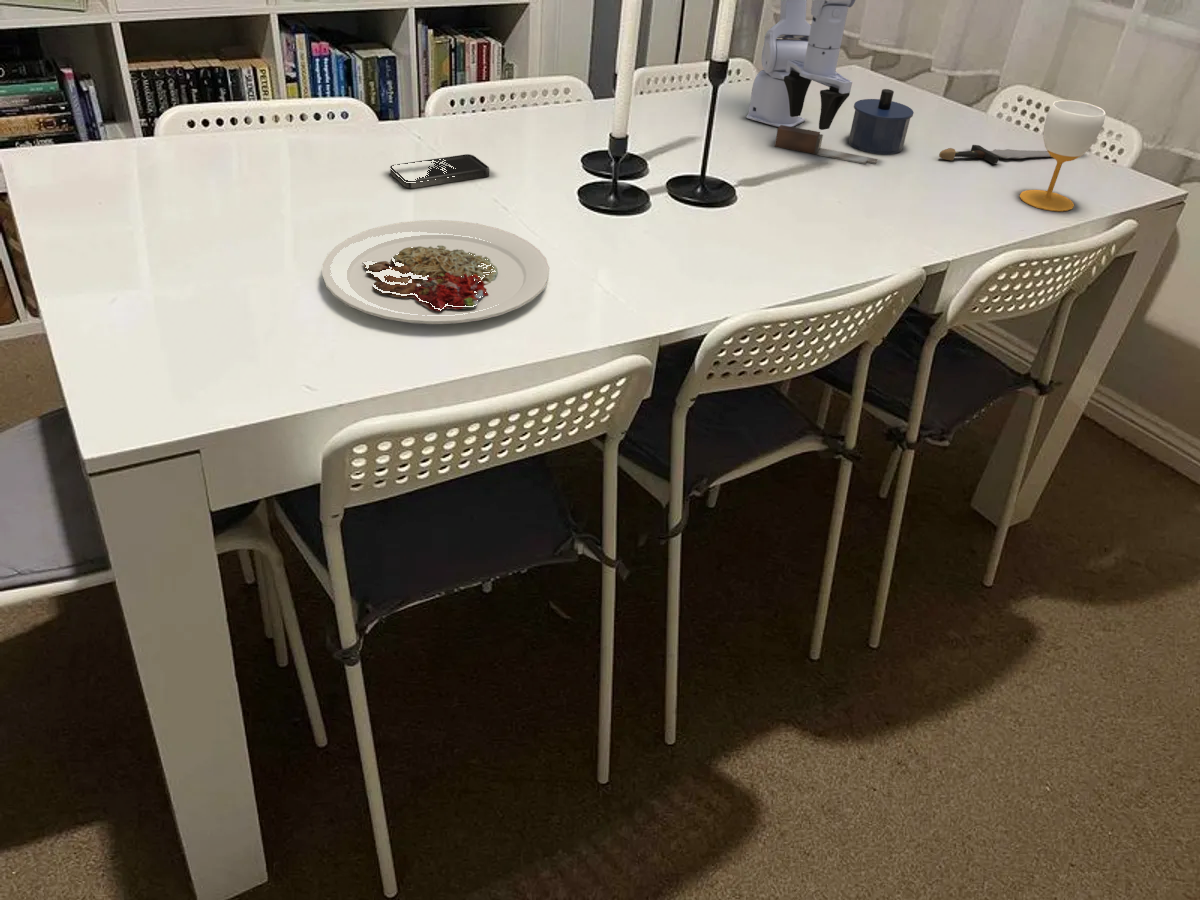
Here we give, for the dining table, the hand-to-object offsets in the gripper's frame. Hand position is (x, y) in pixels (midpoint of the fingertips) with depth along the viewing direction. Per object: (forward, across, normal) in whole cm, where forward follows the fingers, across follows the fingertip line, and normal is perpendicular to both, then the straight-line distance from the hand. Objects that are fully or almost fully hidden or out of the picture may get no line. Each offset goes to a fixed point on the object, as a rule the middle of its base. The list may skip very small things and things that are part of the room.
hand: (809, 122), depth 182 cm
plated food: (+5, +16, -84) cm, 86 cm away
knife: (+5, +3, +2) cm, 6 cm away
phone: (+5, -17, -67) cm, 69 cm away
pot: (+5, +4, +15) cm, 17 cm away
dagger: (+5, +20, +36) cm, 41 cm away
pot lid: (-1, +4, +15) cm, 16 cm away
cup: (+5, +37, +22) cm, 44 cm away
